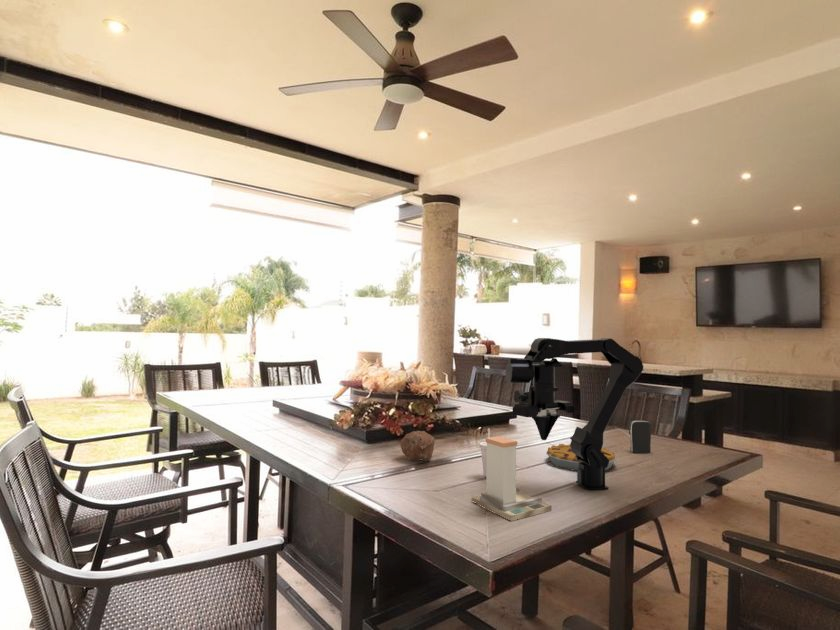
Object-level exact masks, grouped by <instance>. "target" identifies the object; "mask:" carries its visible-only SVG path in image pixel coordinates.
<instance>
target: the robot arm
mask: <svg viewBox="0 0 840 630" xmlns="http://www.w3.org/2000/svg"><path fill="white" fill-rule="evenodd" d="M589 353H591V354H592V353H601V354H602V355H603V357H604V358H605V360H606V362H608V363H609V364H610V368H609V373H608V374H609V378H608V379H609V381H608V382H607V385H606V387H605V388H604V390H603V392H602V394H601V396H600V398H599V400H598V402H597V404H596V406H595V407H594V410H593V412H592V413H591V415H590V418H589V419H588V422H587V423H586V425H584V426H583V427H579V426H576V427H575V430H574V432H573V435H572V436H571V437H570V438H569V439H570V440H571V441H570V443H569V445H570V447H571V450H572V452H573V453H574V454H575V455H576V458H577V460H579V461H581V462H579V468H577V470H576V476H577V477H576V479H577V480H576V481H575V483H576V484H577V485H579V486H580V487H582V488H583V489H585V490H588V491H589V490H591V491H592V490H609V486H607V485H606V471H605V468H607V467H608V464H609V459H608V458H607V457H606V456H605V455H604V454H603V453H602V452H601V449H603V446H604V433H605V430H606V429H607V427H608V425H609V423H610V420H611V419H612V417H613V415H614V413H615V411H616V409H617V407H618V405H619V403H620V401H621V399H622V397H623V395H624V393H625V392H626V389H627V388H628V387H630V385H632V384H633V383H634V382H636V381H637V379H638V378H639V377H640V376H641V374H642V372H643V370H644V364H643V361H642V360H641V358H639V357H638V356H636V355H633V354H632V353H631V352H630V351H629V350H627V349H626V348H624V347H623V346H621V345H620V344H619V343H618V342H617V341H615V339H613V338H611V337H607V338H606V337H602V338H599V339H596V338H595V339H578V340H576V339H575V340H574V339H573V340H565V339H564V340H563V339H559V338H550V337H537V338H534V340H533V341H532V343H531V345H530V349H529V350H528V352H527V353H526V354H525V356H524V357H523V358H514V357H510V358H508V359H507V360H508V362H507V364H506V368H505V372H504V373H505V379H506V382H507V383H508V384H529V383H530V382H531V381H533V383H532V385H531V386H530V387H529V388H528V389H529V391H527V392H524V391H523V390H516V391H514V392H513V393H514V394H513V399H514V402H515V404H514V405H513V406H512V415H513V416H519V417H524V418H531V419H533V421H534V423H535V426H536V428H537V431H538V434H539V436H540V439H541V441H546V440H547V439H548V437H549V436H550V433H551V431H552V429H553V428H554V425H555V423H556V422H557V420H558V419H559V418H560V417H561V414H558V413H557V411H564V412H565V413H567V414H571V413H575V405H574V403H573V402H572V401H566V400H560V399H559V400H555V396H556V395H555V394H556V393H555V392H558V391H559V387H557V386H555V373H556V372H555V369H556V368H561V367H563V364H562V363H561V362H560V361H559V360H558V358H559V357H563V356H566V355H569V354H570V355H571V354H589ZM536 363H537V364H536Z"/></svg>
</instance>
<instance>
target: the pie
mask: <svg viewBox="0 0 840 630" xmlns="http://www.w3.org/2000/svg"><path fill="white" fill-rule="evenodd" d="M601 452H602V453H603V454H604V455H605V456H606V457H607V458H608V459H609V464H608V467H607V468H605V470H606V471H608V470H609V468H610V469H611V468H612V466H613V464H614V462H615V461H616V460H617V456H616V454H615V453H614V451H609V449H607V448H606V447H602V449H601ZM546 455H547V456H548V458H549V461H550V462H551V463H552V464H553V466H555V465H557V466H556V467H558V466H560V467H559V468H561V467H564V468H563V469H566V468H568V469H567V470H571V469H573V471H577V468H579V462H581V461H579V460H577V458H576V455H575V454H574V453H573V452H572V450H571V447H570V444H564V443H559V444H558V445H552V446H551V447H548V448H547V451H546ZM607 469H608V470H607Z"/></svg>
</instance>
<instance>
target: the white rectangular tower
mask: <svg viewBox="0 0 840 630" xmlns="http://www.w3.org/2000/svg"><path fill="white" fill-rule="evenodd" d="M485 442H486V443H487V478H486V485H485V486H486V493H485V494H487V495H489V496H491V497H493V498H496V499H498V500H500V501H502V506H503V505H507V504H512V503H516V488H517V446H518V441H517V440H513V439H510V438H506V437H502V436H501V435H498V436H490V438H488V437H485Z"/></svg>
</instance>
